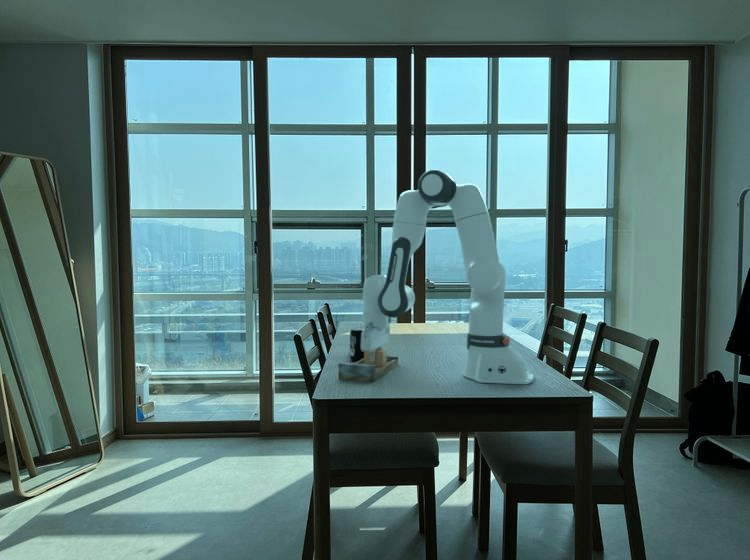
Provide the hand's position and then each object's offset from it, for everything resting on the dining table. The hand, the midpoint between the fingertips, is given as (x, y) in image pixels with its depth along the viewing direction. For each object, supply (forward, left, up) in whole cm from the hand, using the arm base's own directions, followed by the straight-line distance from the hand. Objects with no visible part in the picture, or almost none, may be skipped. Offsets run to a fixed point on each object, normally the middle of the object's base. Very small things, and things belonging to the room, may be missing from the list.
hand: (375, 359), depth 183 cm
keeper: (0, 0, -2) cm, 2 cm away
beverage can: (+10, -9, -3) cm, 14 cm away
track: (0, +5, -3) cm, 6 cm away
